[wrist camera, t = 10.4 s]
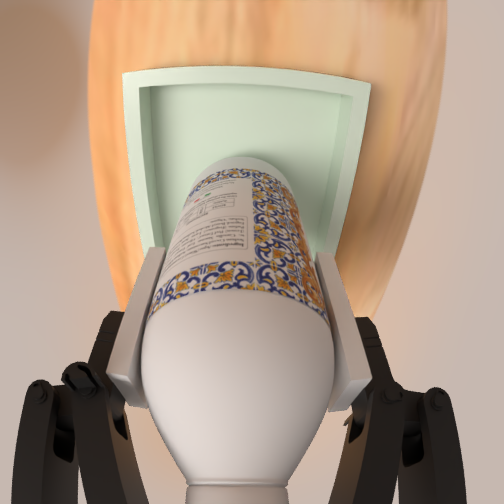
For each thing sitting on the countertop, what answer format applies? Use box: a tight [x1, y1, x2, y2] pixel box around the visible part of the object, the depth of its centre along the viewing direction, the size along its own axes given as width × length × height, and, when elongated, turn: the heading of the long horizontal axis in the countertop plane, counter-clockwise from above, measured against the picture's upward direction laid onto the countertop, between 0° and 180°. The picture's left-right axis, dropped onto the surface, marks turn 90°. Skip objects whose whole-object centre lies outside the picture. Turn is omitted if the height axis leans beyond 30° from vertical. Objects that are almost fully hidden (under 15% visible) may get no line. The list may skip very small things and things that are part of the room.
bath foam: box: [141, 157, 335, 504], centre depth 11 cm, size 7×7×20 cm
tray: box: [122, 65, 371, 261], centre depth 20 cm, size 18×14×3 cm
